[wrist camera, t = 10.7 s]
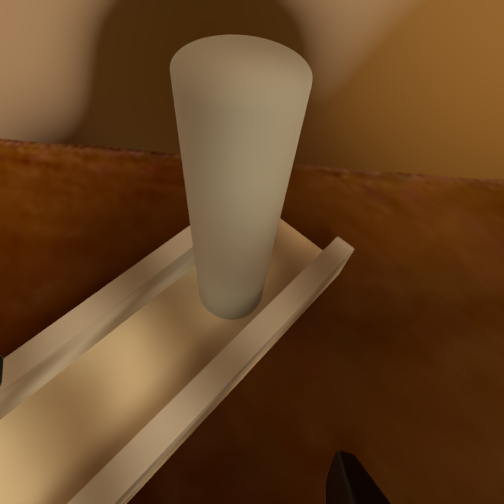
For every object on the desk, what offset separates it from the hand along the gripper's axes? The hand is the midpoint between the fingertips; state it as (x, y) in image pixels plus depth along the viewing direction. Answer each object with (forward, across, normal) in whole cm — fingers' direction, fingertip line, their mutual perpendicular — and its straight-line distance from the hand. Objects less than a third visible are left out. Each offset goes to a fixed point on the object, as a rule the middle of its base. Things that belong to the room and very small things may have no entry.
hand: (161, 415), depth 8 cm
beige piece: (+11, 0, 0) cm, 11 cm away
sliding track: (+9, +2, +3) cm, 10 cm away
